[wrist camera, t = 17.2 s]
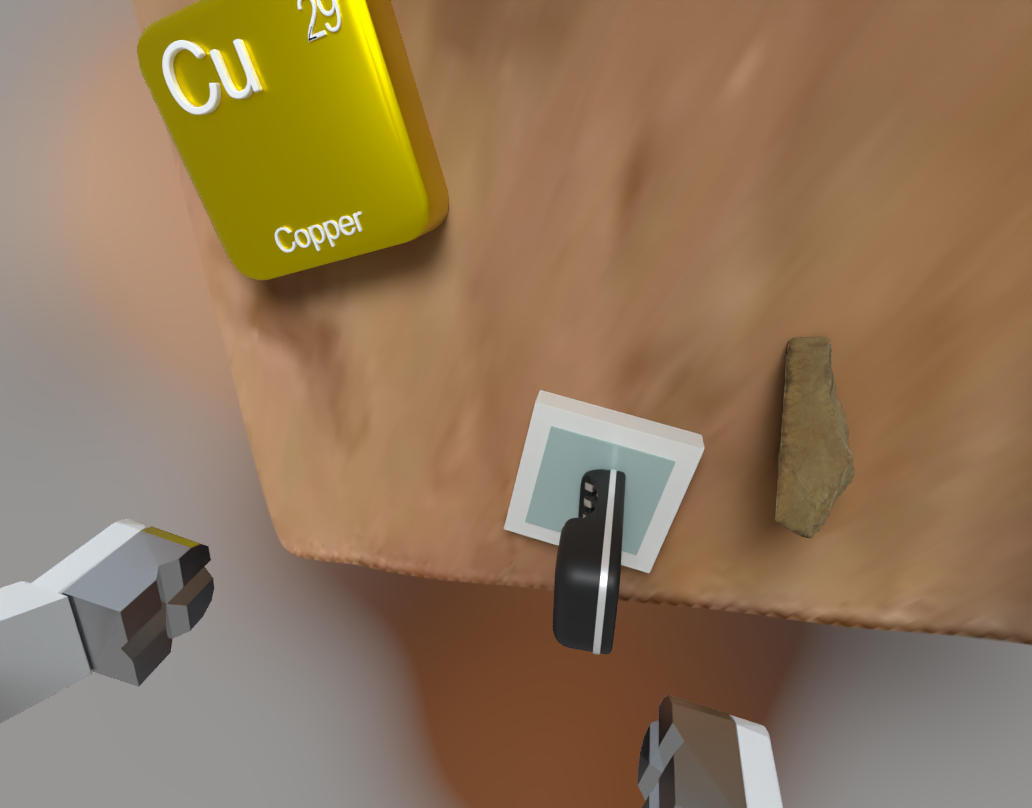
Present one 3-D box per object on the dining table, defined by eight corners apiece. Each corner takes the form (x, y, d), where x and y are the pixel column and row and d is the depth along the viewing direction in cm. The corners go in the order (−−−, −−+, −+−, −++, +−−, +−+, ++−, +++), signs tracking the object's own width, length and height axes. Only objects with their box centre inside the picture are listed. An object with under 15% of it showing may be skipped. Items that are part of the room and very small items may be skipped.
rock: (760, 316, 33) (690, 459, 36) (901, 378, 26) (798, 544, 30) (856, 341, 38) (787, 462, 42) (991, 397, 32) (896, 534, 35)
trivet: (701, 434, 39) (704, 450, 37) (649, 555, 45) (649, 574, 43) (540, 389, 40) (535, 402, 38) (509, 513, 46) (503, 530, 44)
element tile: (277, 273, 41) (235, 289, 37) (176, 45, 35) (113, 34, 31) (459, 223, 36) (435, 235, 32) (379, -47, 31) (336, -75, 27)
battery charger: (573, 460, 40) (549, 571, 30) (626, 466, 39) (620, 582, 29) (569, 535, 43) (546, 659, 33) (618, 542, 42) (609, 670, 32)
